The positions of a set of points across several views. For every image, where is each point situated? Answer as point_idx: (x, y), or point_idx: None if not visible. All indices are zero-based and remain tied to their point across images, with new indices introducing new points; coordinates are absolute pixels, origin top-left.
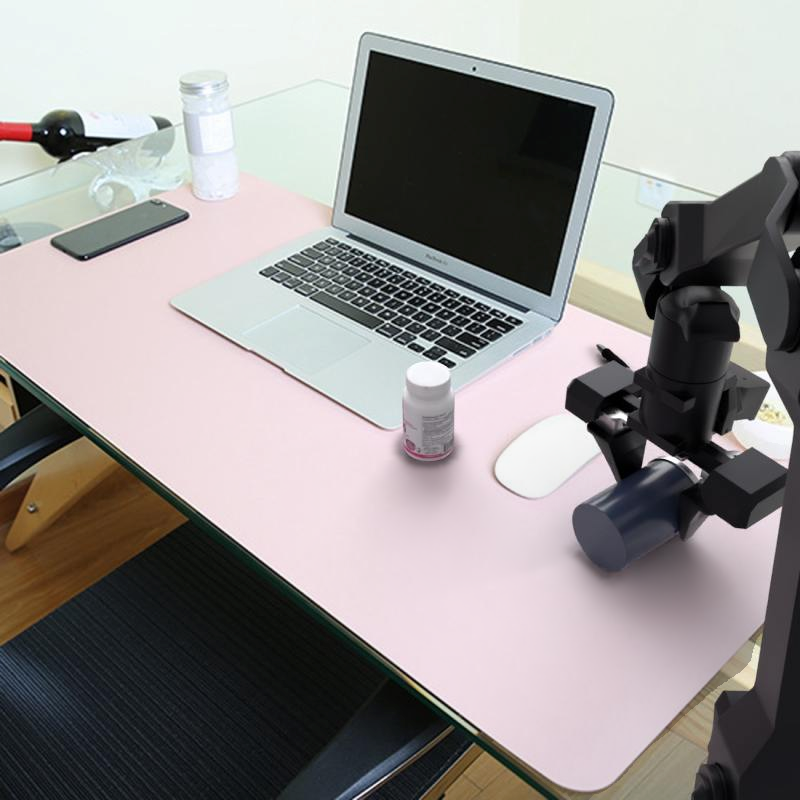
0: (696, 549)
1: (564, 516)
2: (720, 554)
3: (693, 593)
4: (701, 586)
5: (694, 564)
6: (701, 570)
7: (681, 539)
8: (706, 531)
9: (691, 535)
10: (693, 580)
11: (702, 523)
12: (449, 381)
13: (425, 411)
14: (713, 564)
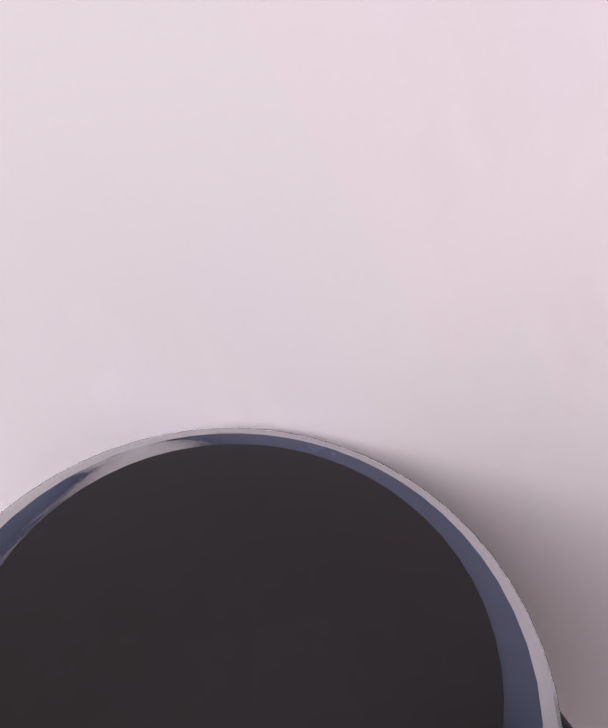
0: (488, 514)
1: None
2: (600, 477)
3: (581, 687)
4: (595, 652)
5: (520, 583)
6: (560, 593)
7: None
8: (473, 390)
9: None
10: (554, 645)
11: (562, 716)
12: None
13: None
14: (594, 542)
